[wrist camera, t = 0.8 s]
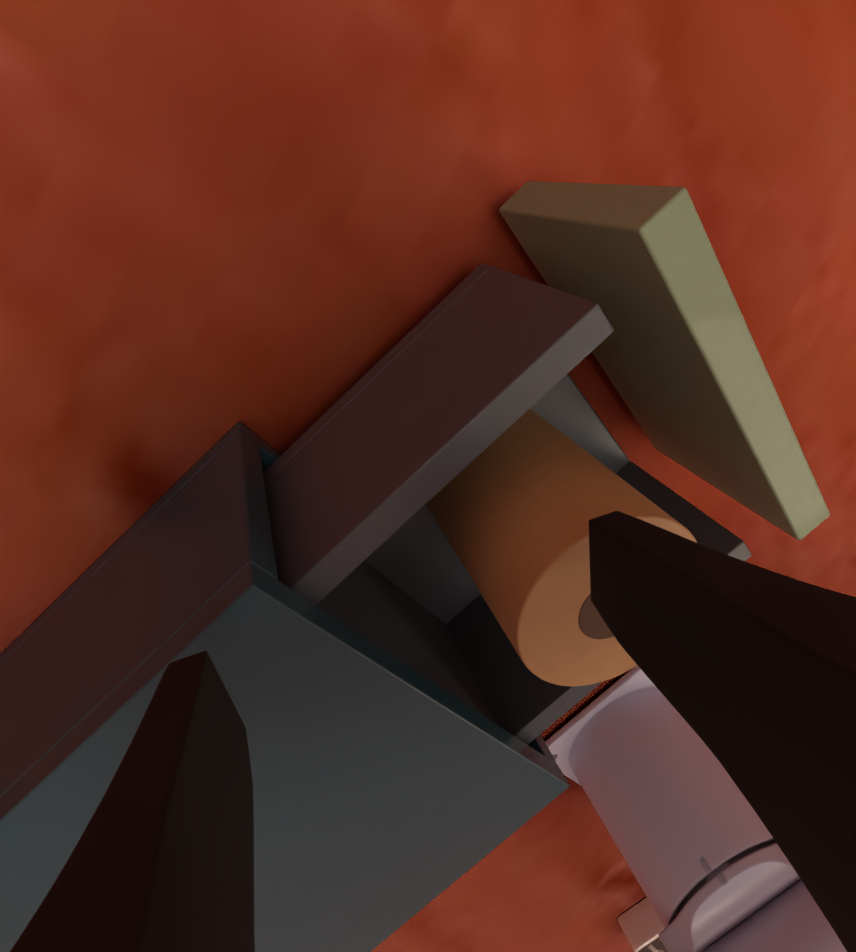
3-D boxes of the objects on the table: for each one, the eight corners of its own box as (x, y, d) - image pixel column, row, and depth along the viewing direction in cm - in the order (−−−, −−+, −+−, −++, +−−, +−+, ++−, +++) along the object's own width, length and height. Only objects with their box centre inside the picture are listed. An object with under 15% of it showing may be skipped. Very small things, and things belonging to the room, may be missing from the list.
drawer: (558, 149, 17) (736, 139, 11) (702, 407, 23) (864, 487, 17) (225, 471, 18) (228, 613, 12) (445, 635, 24) (515, 780, 18)
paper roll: (574, 460, 21) (731, 589, 14) (473, 550, 21) (583, 714, 15) (500, 367, 18) (652, 475, 12) (387, 471, 18) (475, 629, 12)
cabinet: (239, 420, 18) (252, 584, 11) (468, 607, 25) (570, 786, 18) (-44, 696, 20) (-199, 1005, 12) (246, 804, 26) (257, 1046, 19)
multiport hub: (781, 830, 46) (805, 859, 45) (633, 933, 47) (651, 966, 45) (771, 810, 44) (797, 839, 42) (615, 918, 44) (633, 953, 42)
